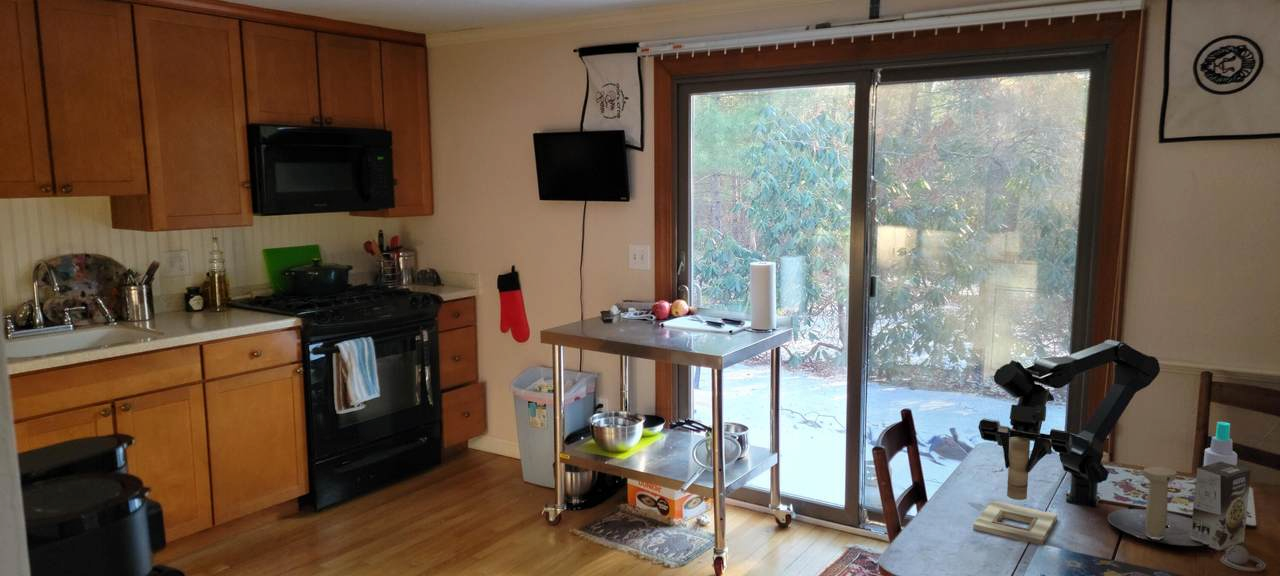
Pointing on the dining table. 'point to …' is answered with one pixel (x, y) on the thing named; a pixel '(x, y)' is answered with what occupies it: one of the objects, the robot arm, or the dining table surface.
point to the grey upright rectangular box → (1220, 504)
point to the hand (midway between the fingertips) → (1017, 469)
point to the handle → (1157, 499)
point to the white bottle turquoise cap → (1221, 447)
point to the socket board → (1037, 519)
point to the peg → (1018, 468)
